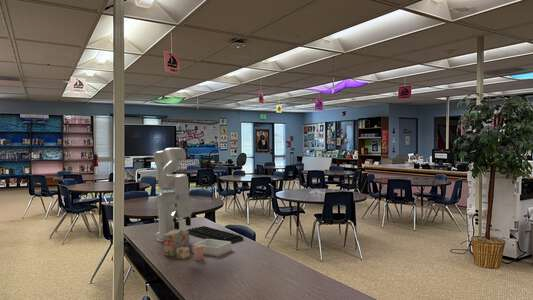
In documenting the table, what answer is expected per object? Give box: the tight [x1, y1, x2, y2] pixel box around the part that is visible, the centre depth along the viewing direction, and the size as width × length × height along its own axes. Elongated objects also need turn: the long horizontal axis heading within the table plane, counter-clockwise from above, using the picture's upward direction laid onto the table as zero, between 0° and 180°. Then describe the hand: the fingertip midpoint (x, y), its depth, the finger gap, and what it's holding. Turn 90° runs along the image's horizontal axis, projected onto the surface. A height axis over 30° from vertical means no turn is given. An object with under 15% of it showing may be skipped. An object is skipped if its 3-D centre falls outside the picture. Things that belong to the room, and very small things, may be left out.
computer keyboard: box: [185, 225, 244, 244], centre depth 250 cm, size 45×16×4 cm, turn 44°
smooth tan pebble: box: [193, 246, 204, 262], centre depth 201 cm, size 5×5×7 cm
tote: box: [191, 239, 232, 257], centre depth 215 cm, size 18×14×5 cm
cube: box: [176, 246, 191, 259], centre depth 206 cm, size 5×5×5 cm
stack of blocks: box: [163, 229, 190, 257], centre depth 219 cm, size 21×6×12 cm, turn 168°
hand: (182, 227), depth 206 cm, fingers open, 9 cm apart
